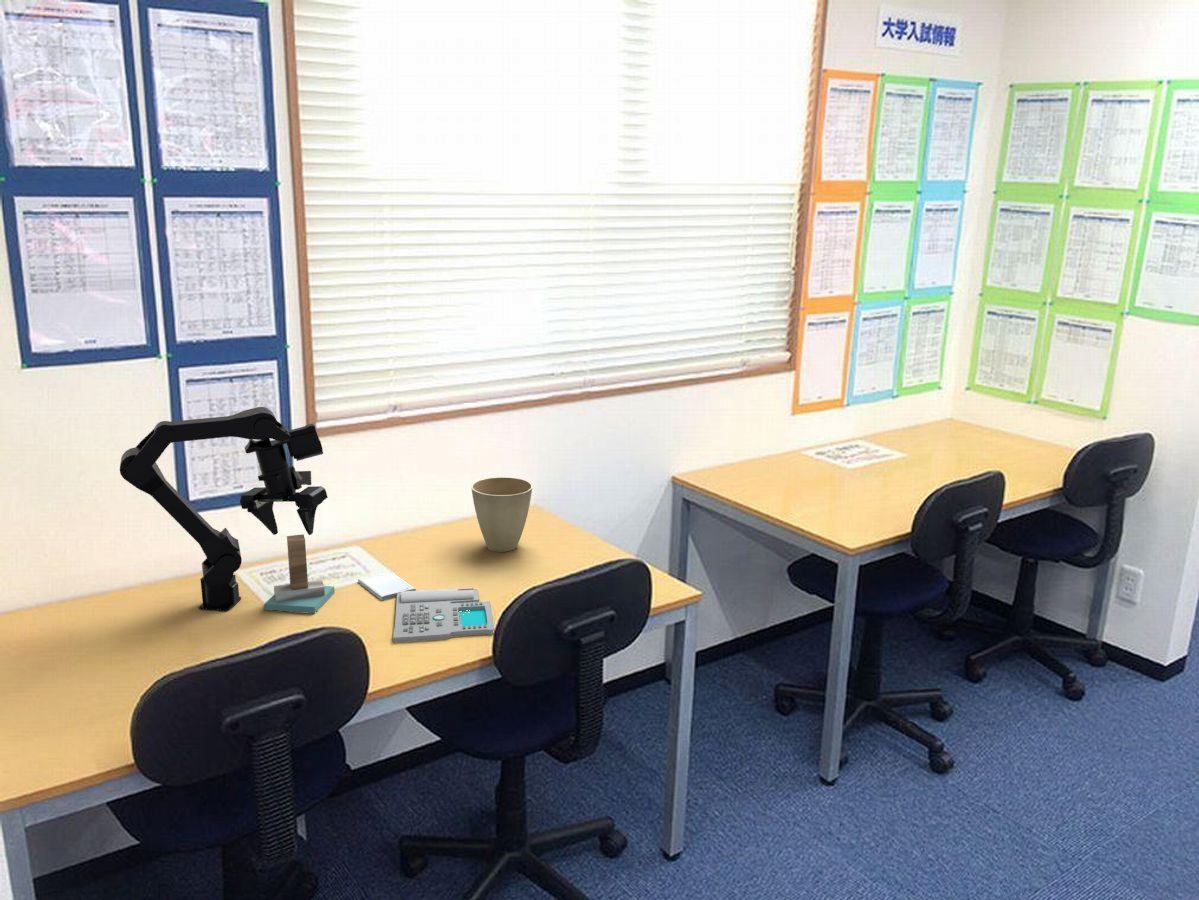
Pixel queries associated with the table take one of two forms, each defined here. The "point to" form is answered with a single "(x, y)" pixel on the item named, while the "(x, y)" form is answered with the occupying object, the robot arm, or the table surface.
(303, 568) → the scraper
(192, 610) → the table surface
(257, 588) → the table surface
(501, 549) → the plant pot
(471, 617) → the office telephone
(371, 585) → the hard drive
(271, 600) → the plate
